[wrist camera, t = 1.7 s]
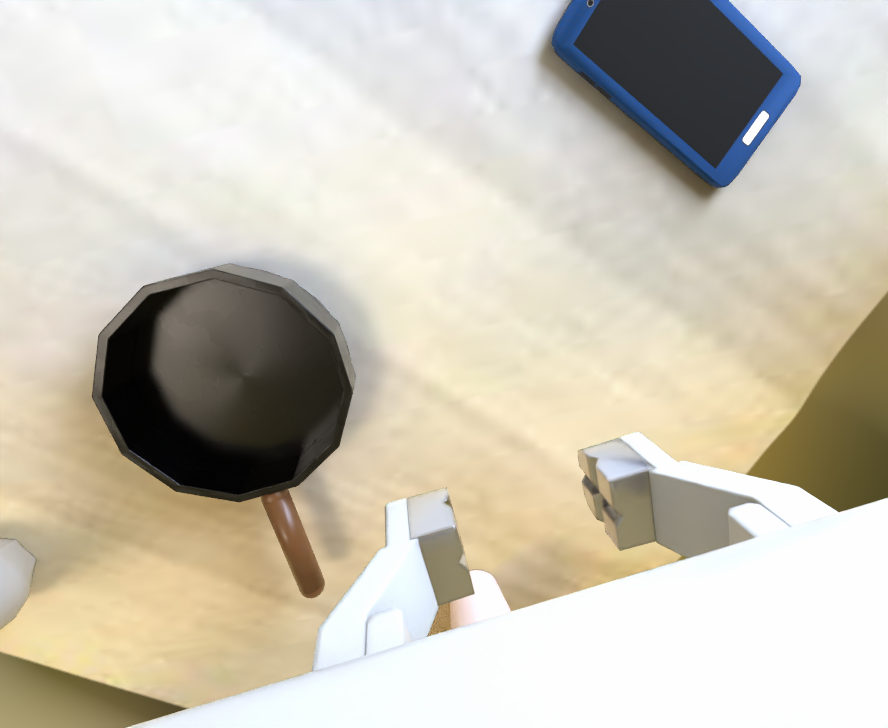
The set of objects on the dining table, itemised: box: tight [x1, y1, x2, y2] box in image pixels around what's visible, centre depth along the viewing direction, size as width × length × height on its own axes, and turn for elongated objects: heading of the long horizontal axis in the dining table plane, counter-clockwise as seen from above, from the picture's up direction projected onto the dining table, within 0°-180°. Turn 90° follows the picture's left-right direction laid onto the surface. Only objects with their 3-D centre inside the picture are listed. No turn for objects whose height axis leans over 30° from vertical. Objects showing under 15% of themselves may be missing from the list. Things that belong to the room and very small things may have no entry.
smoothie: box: [450, 570, 511, 629], centre depth 29 cm, size 6×6×14 cm
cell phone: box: [552, 0, 801, 188], centre depth 26 cm, size 7×14×1 cm, turn 58°
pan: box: [92, 264, 355, 598], centre depth 28 cm, size 21×13×4 cm, turn 14°
